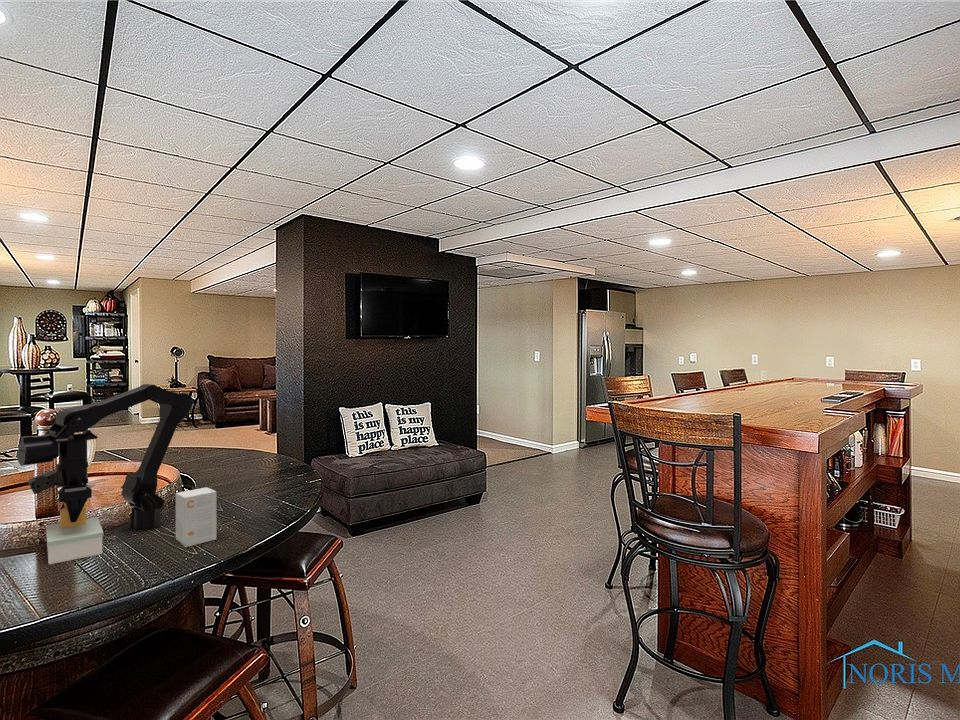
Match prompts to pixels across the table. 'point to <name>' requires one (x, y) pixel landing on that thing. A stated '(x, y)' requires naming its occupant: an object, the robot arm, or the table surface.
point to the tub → (74, 550)
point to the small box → (196, 516)
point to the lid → (73, 529)
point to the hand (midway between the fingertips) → (73, 520)
